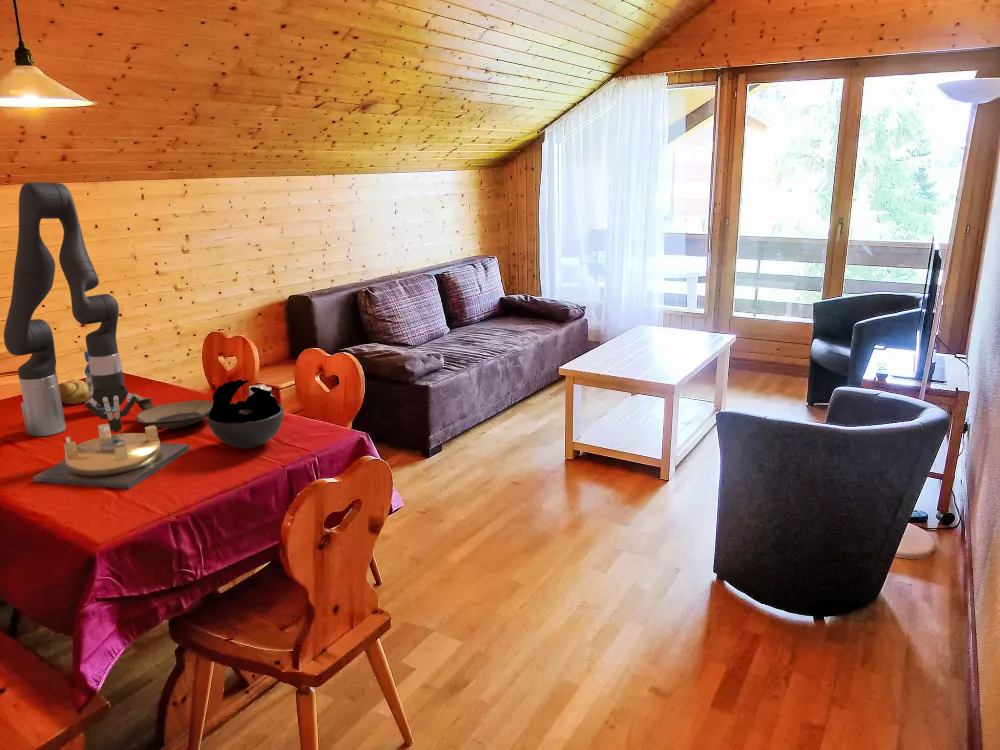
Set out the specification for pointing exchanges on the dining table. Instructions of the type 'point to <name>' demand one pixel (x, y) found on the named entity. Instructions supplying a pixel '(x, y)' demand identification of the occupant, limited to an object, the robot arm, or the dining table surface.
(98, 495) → the dining table surface
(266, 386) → the pneumatic valve
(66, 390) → the bread roll
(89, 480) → the base plate
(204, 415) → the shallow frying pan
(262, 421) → the bowl of black rocks
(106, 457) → the round brass tray
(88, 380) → the beverage bottle
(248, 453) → the dining table surface
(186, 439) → the dining table surface
